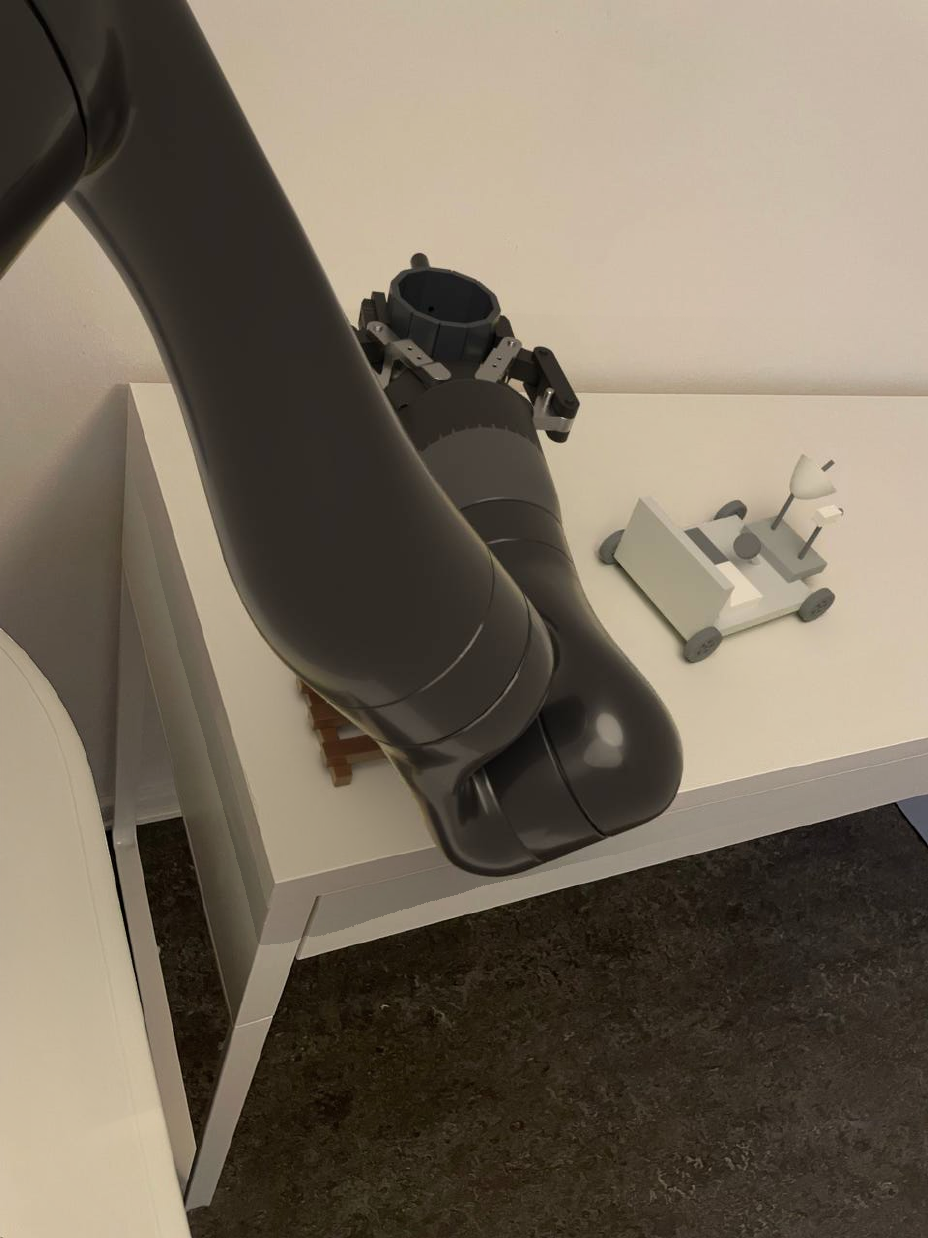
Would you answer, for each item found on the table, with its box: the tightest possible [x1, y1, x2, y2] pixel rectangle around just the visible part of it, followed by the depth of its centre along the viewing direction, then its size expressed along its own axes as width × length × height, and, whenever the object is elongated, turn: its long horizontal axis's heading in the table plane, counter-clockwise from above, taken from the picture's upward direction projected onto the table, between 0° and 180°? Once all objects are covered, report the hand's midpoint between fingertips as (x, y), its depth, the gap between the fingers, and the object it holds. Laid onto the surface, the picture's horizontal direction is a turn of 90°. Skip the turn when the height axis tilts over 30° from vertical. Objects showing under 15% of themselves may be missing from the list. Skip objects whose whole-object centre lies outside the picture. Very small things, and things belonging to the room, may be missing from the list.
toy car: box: [598, 453, 844, 663], centre depth 79 cm, size 18×10×12 cm
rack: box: [295, 675, 388, 788], centre depth 66 cm, size 14×9×2 cm, turn 21°
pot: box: [384, 252, 502, 367], centre depth 64 cm, size 12×6×9 cm, turn 9°
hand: (431, 312), depth 63 cm, fingers closed on pot, 6 cm apart
